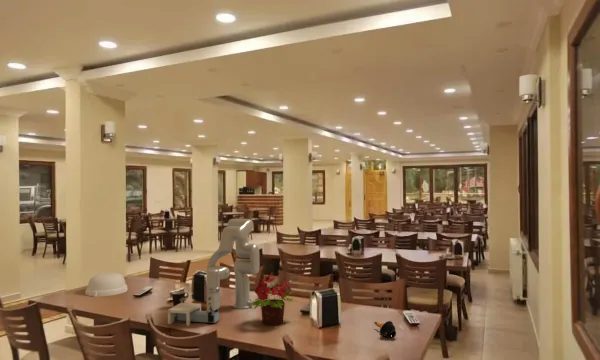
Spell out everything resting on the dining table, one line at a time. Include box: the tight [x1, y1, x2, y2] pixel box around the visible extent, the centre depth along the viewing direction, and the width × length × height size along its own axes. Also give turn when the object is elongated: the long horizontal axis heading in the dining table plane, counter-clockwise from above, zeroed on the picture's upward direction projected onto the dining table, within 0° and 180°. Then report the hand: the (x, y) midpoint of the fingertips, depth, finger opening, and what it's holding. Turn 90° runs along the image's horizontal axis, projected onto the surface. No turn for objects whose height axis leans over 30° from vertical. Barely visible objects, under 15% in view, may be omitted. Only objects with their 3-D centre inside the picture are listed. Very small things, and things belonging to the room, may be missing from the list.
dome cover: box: [84, 272, 128, 298], centre depth 338 cm, size 32×30×14 cm
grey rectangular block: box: [177, 310, 220, 324], centre depth 261 cm, size 24×6×4 cm, turn 77°
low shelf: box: [167, 302, 202, 326], centre depth 263 cm, size 14×16×8 cm
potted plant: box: [252, 271, 297, 327], centre depth 256 cm, size 30×27×30 cm
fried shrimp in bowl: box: [373, 320, 397, 339], centre depth 237 cm, size 9×11×18 cm
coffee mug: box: [171, 290, 189, 307], centre depth 292 cm, size 12×9×10 cm
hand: (213, 319), depth 259 cm, fingers closed on grey rectangular block, 6 cm apart
